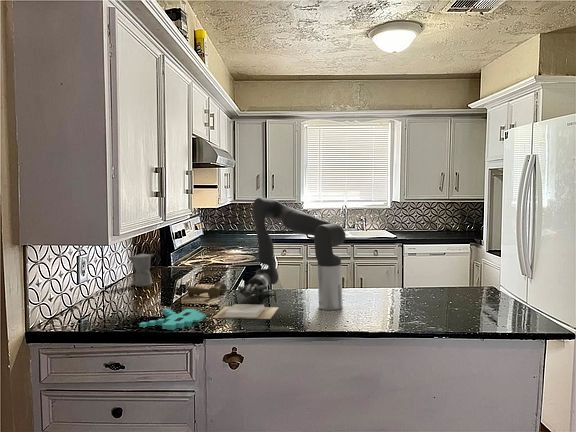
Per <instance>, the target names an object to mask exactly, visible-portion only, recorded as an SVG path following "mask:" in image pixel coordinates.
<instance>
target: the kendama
mask: <svg viewBox="0 0 576 432" xmlns="http://www.w3.org/2000/svg"><path fill="white" fill-rule="evenodd" d="M226 292H231V289H227V285H226V283H225V282H222V281H217V282H216V283H215V284H214V285H213V286H211V287H209V288H205V287H201V286H199V285H197V286H193V285H191V284H190V285H188V286H187V295H188V297H193V296H200V295H203V294H207V295H208V297H209V298H210V299H211V300H213V299H214V298H219V297H220V295H224V294H226Z"/></svg>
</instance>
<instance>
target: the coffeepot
mask: <svg viewBox="0 0 576 432" xmlns="http://www.w3.org/2000/svg"><path fill="white" fill-rule="evenodd" d="M139 252H140V253H139V254H136V255H132V256H128V260H129V261H131V263H132V264H133V268H134V270H135V273H134V282H133V286H134V285H135V286H134V287H137V286H138V288H139V287H150V286H152V285H153V284H154V283H153V278H152V274H151V272H150V269H151V263H152V262H151V261H152V259H153V258H155V263H154V267H152V270H156V269H157V268H158V264H159V261H160V258H161V257H160V256H159V254H158V253H148V254H147V253H144V250H143V249H141V250H139Z"/></svg>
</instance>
